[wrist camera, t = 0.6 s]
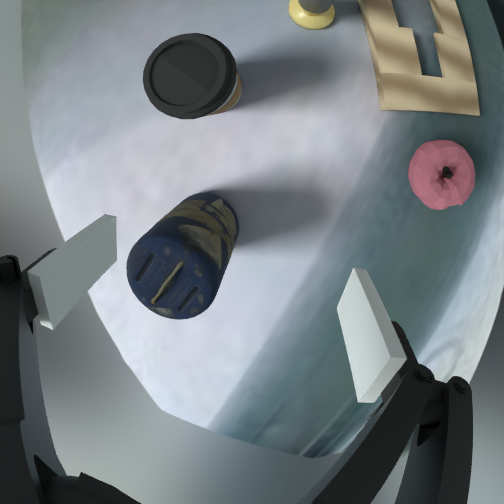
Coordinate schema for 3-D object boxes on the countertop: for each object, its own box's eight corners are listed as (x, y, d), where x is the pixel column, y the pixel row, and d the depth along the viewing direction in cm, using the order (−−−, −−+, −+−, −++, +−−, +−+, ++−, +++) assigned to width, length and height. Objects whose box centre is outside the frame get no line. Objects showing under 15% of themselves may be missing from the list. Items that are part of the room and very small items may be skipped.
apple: (397, 199, 37) (428, 222, 28) (389, 139, 34) (422, 146, 25) (449, 190, 35) (487, 210, 26) (444, 134, 32) (485, 141, 23)
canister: (254, 229, 41) (237, 303, 25) (204, 264, 44) (166, 344, 28) (211, 176, 38) (162, 218, 22) (163, 216, 41) (100, 276, 25)
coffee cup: (216, 50, 31) (180, 13, 17) (263, 86, 33) (255, 63, 19) (175, 96, 34) (120, 86, 20) (221, 132, 36) (187, 139, 22)
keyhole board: (345, -35, 22) (349, -43, 20) (438, -19, 20) (445, -24, 18) (380, 110, 32) (387, 109, 30) (470, 115, 30) (480, 115, 27)
